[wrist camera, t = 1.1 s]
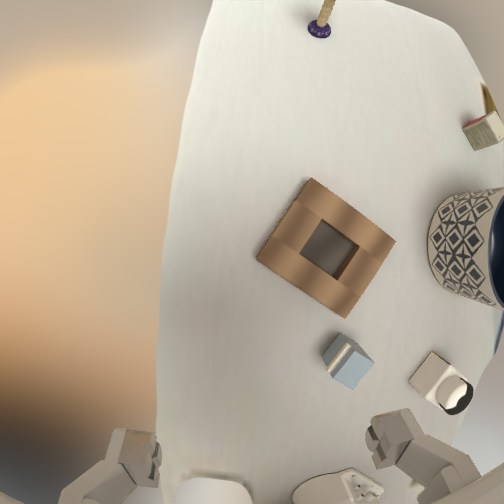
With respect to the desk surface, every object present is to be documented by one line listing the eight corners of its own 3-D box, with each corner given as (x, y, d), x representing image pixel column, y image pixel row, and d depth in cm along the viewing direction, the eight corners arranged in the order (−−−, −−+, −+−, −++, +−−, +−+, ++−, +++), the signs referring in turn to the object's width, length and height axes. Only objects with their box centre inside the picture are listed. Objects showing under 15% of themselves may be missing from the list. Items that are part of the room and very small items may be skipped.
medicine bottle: (449, 366, 47) (483, 391, 35) (427, 394, 47) (457, 424, 35) (431, 350, 47) (466, 375, 35) (407, 380, 47) (437, 412, 35)
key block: (357, 343, 47) (374, 362, 39) (339, 367, 47) (353, 389, 39) (336, 330, 46) (351, 348, 39) (318, 354, 47) (329, 376, 39)
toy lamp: (337, 34, 43) (362, -23, 26) (320, 44, 43) (341, -15, 26) (318, 19, 42) (336, -40, 26) (301, 28, 43) (315, -33, 26)
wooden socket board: (388, 240, 45) (395, 241, 42) (339, 313, 46) (345, 318, 43) (307, 180, 45) (311, 177, 42) (256, 257, 46) (256, 259, 43)
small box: (484, 142, 44) (508, 134, 36) (474, 151, 44) (499, 143, 36) (471, 120, 43) (495, 109, 35) (461, 128, 43) (485, 117, 36)
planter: (497, 278, 46) (554, 292, 29) (431, 305, 46) (488, 332, 30) (486, 188, 44) (545, 179, 28) (417, 201, 45) (478, 192, 28)
